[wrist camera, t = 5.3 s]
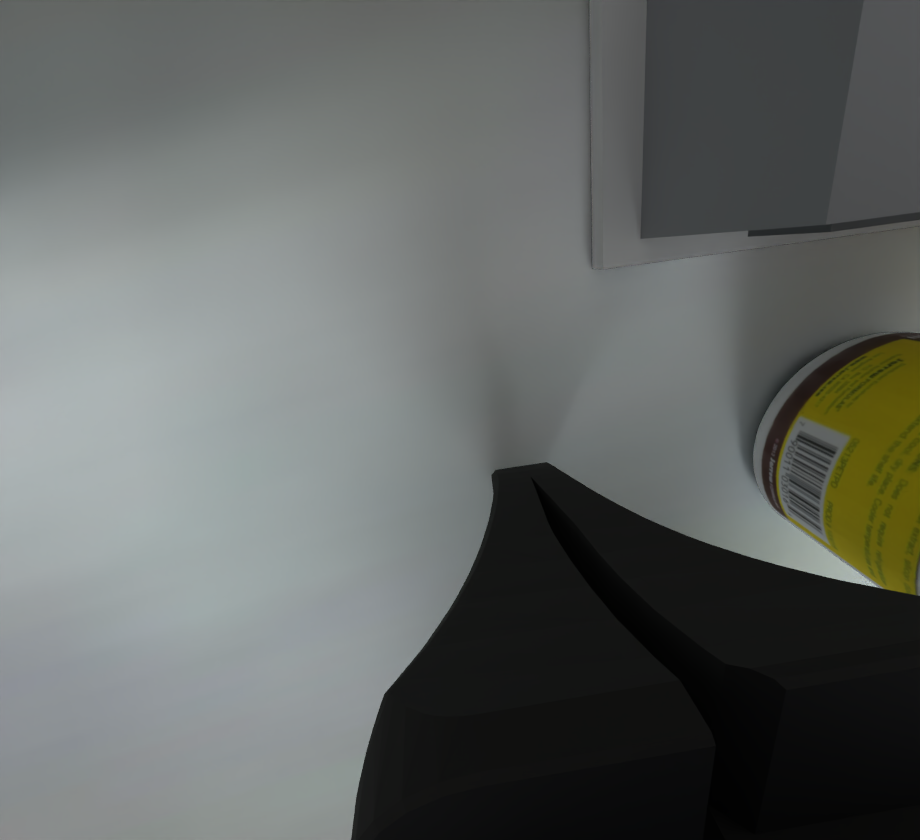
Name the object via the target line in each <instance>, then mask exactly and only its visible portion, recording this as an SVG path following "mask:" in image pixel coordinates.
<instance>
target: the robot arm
mask: <svg viewBox="0 0 920 840" xmlns="http://www.w3.org/2000/svg"><path fill="white" fill-rule="evenodd" d="M492 484H493V493H494V494H493V502H492V507H491V513H490V517H489V521H488V525H487V528H486V531H485V535H484V538H483V541H482V544H481V547H480V550H479V552H478V555H477V557H476V560H475V562H474V564H473V566H472V569H471V571H470V573H469V575H468V577H467V579H466V581H465V583H464V585H463V586H462V588H461V590H460V592H459V594H458V596H457V598H456V599H455V601H454V603H453V604H452V606H451V608H450V609H449V611H448V612H447V614H446V615H445V617H444V618H443V620H442V621H441V623H440V624H439V626H438V627H437V629H436V630H435V632H434V633H433V634H432V636H431V637H430V639H429V640H428V642H427V643H426V644H425V646H424V647H423V648H422V650H421V651H420V652H419V653H418V655H417V656H416V657H415V658H414V659H413V661H412V662H411V663H410V664H409V665H408V667H407V668H406V669H405V670H404V672H403V673H402V674H401V675H400V676H399V678H398V679H397V680H396V681H395V682H394V684H393V685H392V686H391V687H390V688H389V689H388V691H387V692H386V693H385V694H384V697H383V700H382V703H381V706H380V709H379V712H378V715H377V718H376V721H375V724H374V727H373V730H372V734H371V738H370V741H369V745H368V748H367V752H366V756H365V760H364V764H363V769H362V773H361V778H360V782H359V787H358V792H357V797H356V805H355V813H354V821H353V830H352V838H351V840H920V596H918V595H913V594H908V593H903V592H897V591H892V590H887V589H882V588H877V587H871V586H866V585H861V584H856V583H851V582H846V581H840V580H836V579H832V578H827V577H823V576H819V575H815V574H811V573H807V572H803V571H799V570H795V569H791V568H787V567H783V566H779V565H775V564H772V563H768V562H765V561H761V560H758V559H754V558H751V557H747V556H744V555H741V554H738V553H735V552H732V551H729V550H726V549H723V548H720V547H717V546H713V545H710V544H708V543H705V542H702V541H699V540H696V539H694V538H691V537H688V536H686V535H684V534H681V533H679V532H676V531H674V530H671V529H669V528H666V527H664V526H662V525H659V524H657V523H655V522H652V521H650V520H648V519H646V518H644V517H642V516H640V515H638V514H636V513H634V512H632V511H630V510H628V509H626V508H624V507H622V506H620V505H618V504H616V503H614V502H612V501H611V500H609V499H607V498H605V497H603V496H602V495H600V494H598V493H596V492H595V491H593V490H591V489H590V488H588V487H586V486H585V485H583V484H581V483H580V482H578V481H577V480H575V479H573V478H572V477H570V476H569V475H567V474H565V473H564V472H562V471H561V470H559V469H557V468H556V467H554V466H552V465H551V464H549V463H547V462H545V463H539V464H532V465H525V466H519V467H512V468H505V469H499V470H495V471H494V473H493V474H492Z"/></svg>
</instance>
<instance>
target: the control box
mask: <svg viewBox="0 0 920 840" xmlns="http://www.w3.org/2000/svg"><path fill="white" fill-rule="evenodd" d="M589 16H590V102H591V188H592V269H610V268H617V267H625V266H632V265H639V264H646V263H654V262H661V261H668V260H676V259H683V258H690V257H698V256H705V255H712V254H720V253H727V252H734V251H742V250H749V249H756V248H763V247H771V246H778V245H785V244H793V243H800V242H807V241H815V240H822V239H829V238H837V237H844V236H851V235H859V234H866V233H873V232H880V231H888V230H895V229H902V228H910V227H917V226H920V0H589Z"/></svg>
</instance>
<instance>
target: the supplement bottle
mask: <svg viewBox="0 0 920 840" xmlns="http://www.w3.org/2000/svg"><path fill="white" fill-rule="evenodd" d="M753 467H754V473H755V478H756V481H757V484H758V487H759V489H760V491H761V493H762V495H763V496H764V498H765V499H766V501H767V502H768V504H769V505H770V506H771V507H772V508H773V509H774V510H775V511H776V512H777V513H778V514H779V515H780V516H782V517H783V518H784V519H785V520H787V521H788V522H790V523H791V524H792V525H794V526H795V527H796V528H798V529H799V530H801V531H802V532H803V533H805V534H806V535H807V536H809V537H810V538H811V539H813V540H814V541H816V542H817V543H818V544H820V545H821V546H822V547H824V548H825V549H827V550H828V551H829V552H831V553H832V554H833V555H835V556H836V557H838V558H839V559H840V560H842V561H843V562H845V563H846V564H847V565H849V566H850V567H852V568H853V569H854V570H856V571H857V572H858V573H860V574H861V575H862V576H864V577H865V578H867V579H868V580H869V581H871V582H872V583H873V584H875V585H876V586H877V587H879V588H882V589H887V590H892V591H897V592H903V593H908V594H913V595H918V596H920V334H919V333H910V332H885V333H877V334H872V335H867V336H863V337H859V338H856V339H853V340H850V341H847V342H845V343H842V344H840V345H838V346H836V347H834V348H832V349H830V350H828V351H826V352H825V353H823V354H821V355H819V356H818V357H816V358H815V359H813V360H812V361H811V362H809V363H808V364H807V365H805V366H804V367H803V368H802V369H800V370H799V371H798V372H797V373H796V374H795V375H794V376H793V377H792V378H791V379H790V380H789V381H788V382H787V383H786V384H785V385H784V386H783V388H782V389H781V390H780V391H779V393H778V394H777V395H776V396H775V398H774V399H773V401H772V402H771V404H770V405H769V407H768V409H767V411H766V413H765V415H764V416H763V418H762V421H761V423H760V426H759V428H758V432H757V435H756V439H755V444H754V452H753Z"/></svg>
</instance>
